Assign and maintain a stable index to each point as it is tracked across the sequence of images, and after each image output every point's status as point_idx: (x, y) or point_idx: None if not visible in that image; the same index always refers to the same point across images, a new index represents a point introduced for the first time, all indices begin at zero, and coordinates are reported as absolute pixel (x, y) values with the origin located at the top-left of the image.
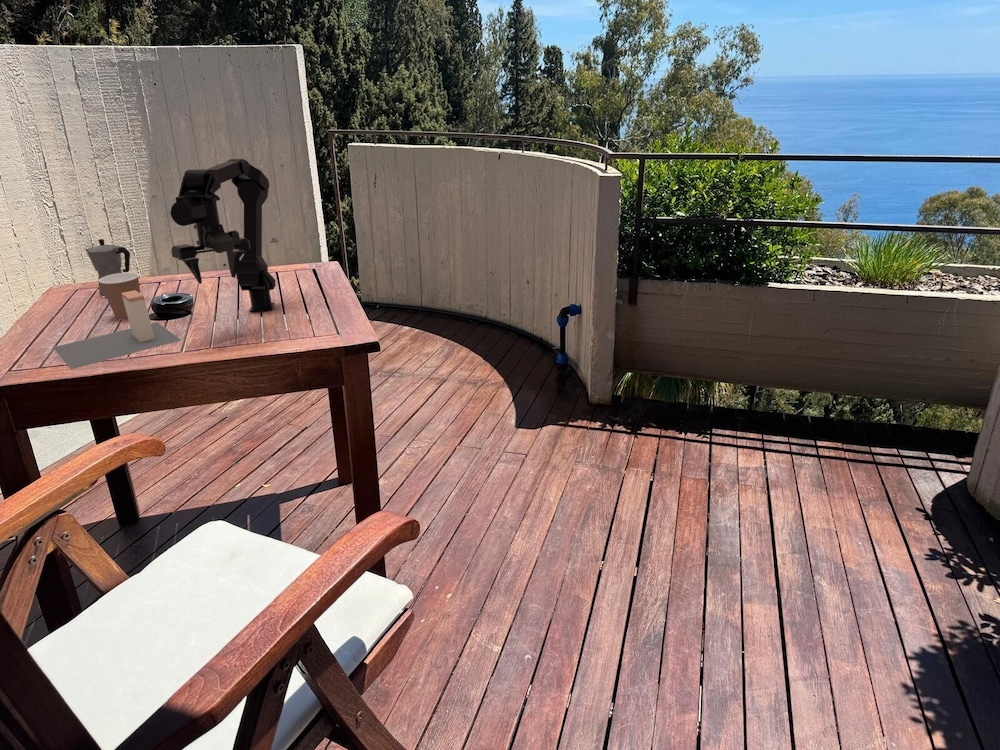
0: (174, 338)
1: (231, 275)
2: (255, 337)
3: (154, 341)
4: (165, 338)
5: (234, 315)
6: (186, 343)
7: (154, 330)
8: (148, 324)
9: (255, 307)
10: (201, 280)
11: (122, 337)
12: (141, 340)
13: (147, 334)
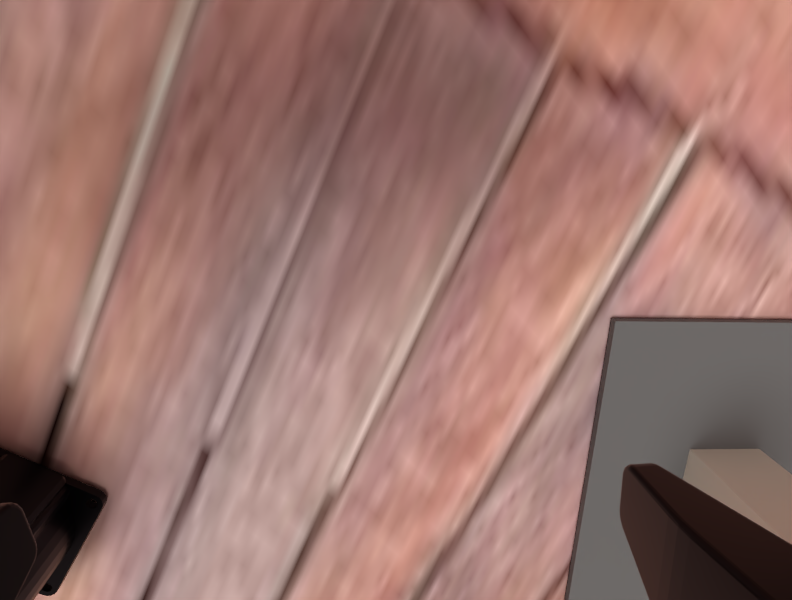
0: (625, 376)
1: (21, 585)
2: (248, 8)
3: (714, 408)
4: (655, 410)
5: (203, 516)
6: (609, 267)
7: (625, 563)
8: (767, 508)
9: (54, 492)
10: (654, 494)
11: None
12: (760, 453)
13: (742, 469)
